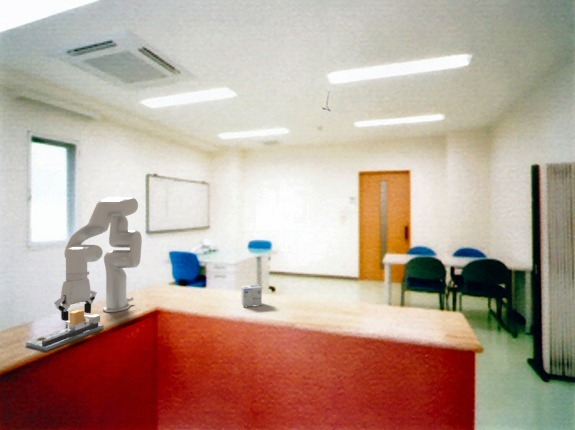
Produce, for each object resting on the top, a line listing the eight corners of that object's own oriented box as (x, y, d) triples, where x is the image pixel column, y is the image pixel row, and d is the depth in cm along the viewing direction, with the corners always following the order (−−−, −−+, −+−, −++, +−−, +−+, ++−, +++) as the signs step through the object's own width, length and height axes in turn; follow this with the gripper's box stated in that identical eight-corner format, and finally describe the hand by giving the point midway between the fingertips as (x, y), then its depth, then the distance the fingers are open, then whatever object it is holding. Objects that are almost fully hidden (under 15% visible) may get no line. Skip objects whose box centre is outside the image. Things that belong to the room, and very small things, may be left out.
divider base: (84, 324, 145) (84, 311, 144) (103, 328, 140) (103, 315, 140) (26, 345, 122) (25, 330, 122) (46, 351, 118) (45, 335, 118)
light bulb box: (259, 302, 181) (259, 284, 181) (261, 306, 175) (262, 287, 175) (241, 304, 178) (241, 285, 178) (243, 307, 171) (243, 288, 171)
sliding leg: (70, 326, 136) (70, 307, 136) (84, 329, 133) (84, 310, 133) (61, 329, 133) (61, 310, 132) (75, 333, 129) (75, 313, 129)
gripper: (89, 271, 141) (89, 309, 141) (48, 279, 125) (49, 322, 125) (101, 273, 138) (101, 311, 138) (61, 281, 122) (61, 324, 122)
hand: (76, 316), depth 132 cm, fingers open, 9 cm apart
